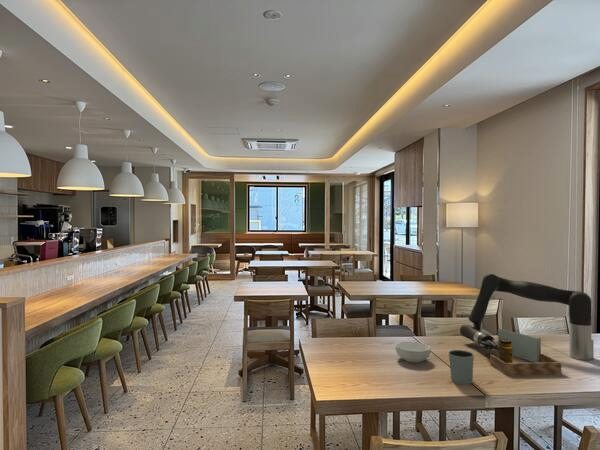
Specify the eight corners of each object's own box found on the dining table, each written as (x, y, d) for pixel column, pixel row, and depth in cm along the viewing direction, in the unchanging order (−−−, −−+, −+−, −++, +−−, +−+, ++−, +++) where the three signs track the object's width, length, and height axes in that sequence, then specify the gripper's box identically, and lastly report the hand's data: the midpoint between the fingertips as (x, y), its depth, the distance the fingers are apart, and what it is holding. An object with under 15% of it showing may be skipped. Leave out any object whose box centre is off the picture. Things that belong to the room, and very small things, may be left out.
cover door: (541, 363, 195) (541, 337, 195) (539, 364, 195) (539, 338, 195) (499, 351, 215) (499, 327, 215) (498, 351, 215) (498, 327, 215)
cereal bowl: (436, 359, 201) (436, 345, 201) (421, 368, 189) (421, 353, 189) (405, 352, 213) (405, 339, 213) (389, 360, 201) (389, 346, 201)
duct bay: (542, 364, 195) (542, 353, 195) (561, 373, 182) (561, 362, 182) (490, 365, 194) (490, 354, 194) (505, 374, 181) (505, 363, 181)
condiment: (516, 366, 191) (516, 341, 191) (502, 368, 189) (502, 343, 189) (505, 361, 198) (504, 337, 198) (490, 363, 196) (490, 339, 196)
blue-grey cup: (477, 385, 168) (477, 357, 169) (453, 385, 169) (453, 356, 169) (468, 376, 179) (468, 349, 179) (445, 376, 179) (445, 349, 179)
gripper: (471, 333, 214) (488, 342, 196) (495, 333, 214) (514, 342, 197) (471, 347, 214) (488, 357, 196) (495, 347, 214) (514, 357, 197)
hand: (501, 349), depth 197 cm, fingers closed
